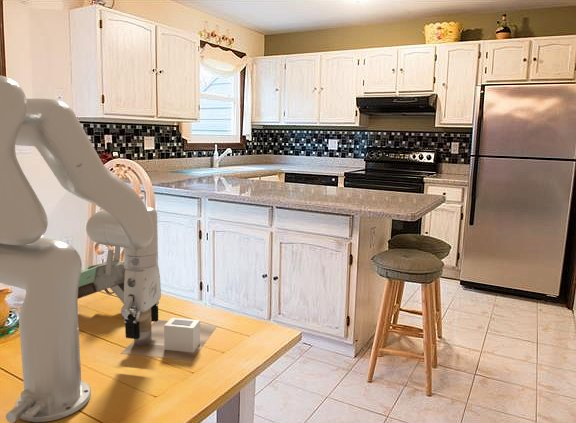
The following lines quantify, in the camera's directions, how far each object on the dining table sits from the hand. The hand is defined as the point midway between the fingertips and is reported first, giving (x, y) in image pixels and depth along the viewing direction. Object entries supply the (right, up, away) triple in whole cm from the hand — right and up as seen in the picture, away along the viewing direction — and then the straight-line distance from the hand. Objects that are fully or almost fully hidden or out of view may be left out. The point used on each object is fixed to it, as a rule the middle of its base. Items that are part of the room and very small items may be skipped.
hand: (142, 329), depth 106 cm
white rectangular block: (+10, -4, -1) cm, 10 cm away
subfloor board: (+6, -4, +3) cm, 8 cm away
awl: (0, -3, +1) cm, 3 cm away
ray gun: (-20, -1, +20) cm, 29 cm away
